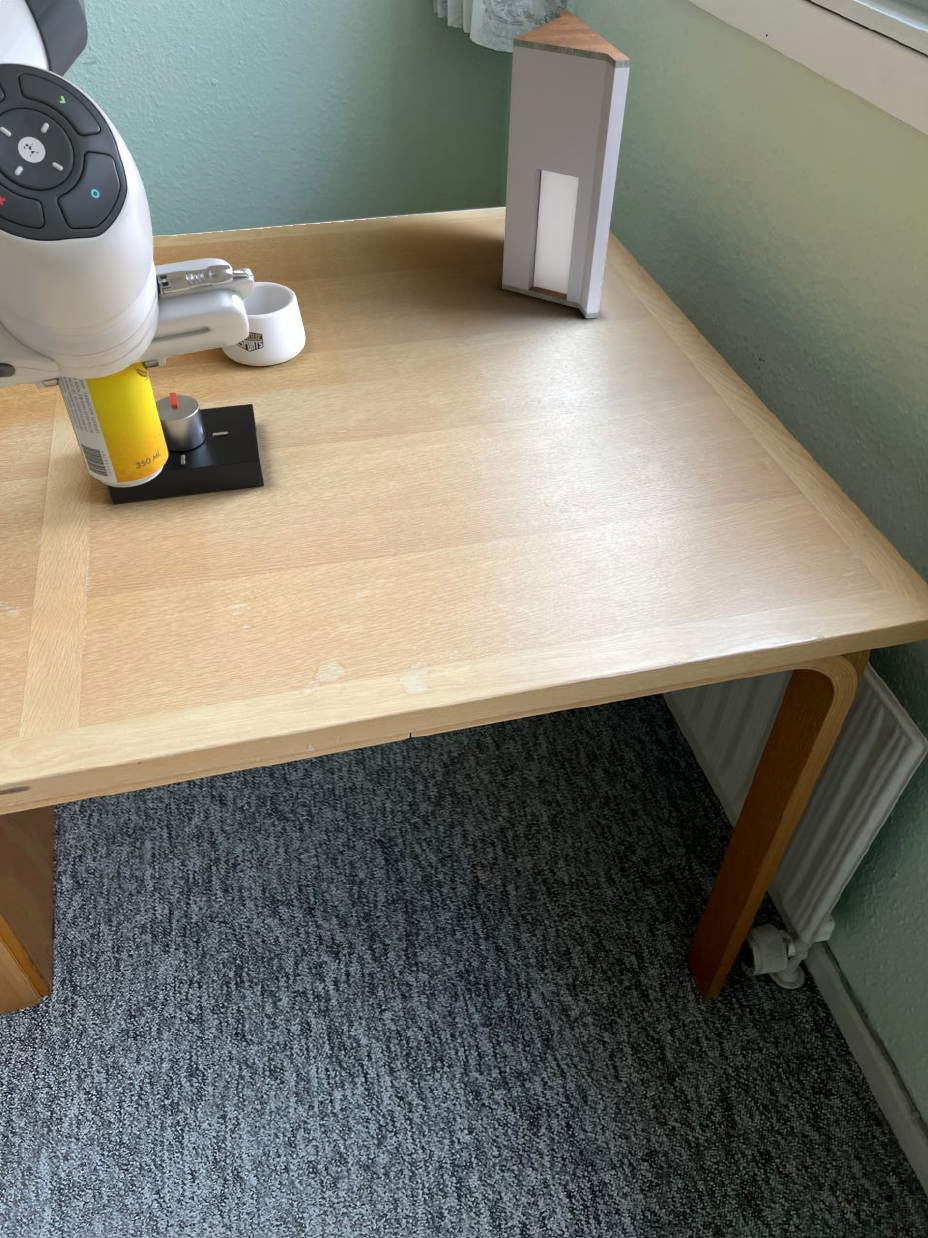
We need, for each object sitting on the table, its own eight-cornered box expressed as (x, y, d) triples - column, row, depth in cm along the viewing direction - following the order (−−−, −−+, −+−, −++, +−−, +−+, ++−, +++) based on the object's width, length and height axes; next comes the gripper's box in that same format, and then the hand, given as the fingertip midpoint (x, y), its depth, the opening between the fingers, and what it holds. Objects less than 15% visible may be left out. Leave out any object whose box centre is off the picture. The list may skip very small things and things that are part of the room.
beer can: (185, 453, 73) (140, 268, 62) (142, 498, 68) (86, 308, 58) (118, 438, 74) (63, 254, 63) (72, 481, 70) (5, 292, 59)
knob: (208, 447, 88) (200, 413, 85) (160, 455, 87) (151, 420, 84) (203, 422, 91) (195, 388, 88) (157, 429, 90) (148, 395, 87)
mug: (315, 330, 110) (310, 282, 106) (294, 372, 103) (288, 322, 99) (217, 322, 111) (208, 274, 107) (191, 363, 104) (180, 313, 100)
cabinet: (598, 317, 114) (630, 59, 94) (523, 324, 112) (540, 64, 92) (548, 246, 128) (567, 10, 108) (481, 252, 126) (488, 13, 106)
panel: (113, 504, 86) (104, 477, 84) (116, 444, 93) (108, 417, 91) (264, 485, 89) (259, 458, 86) (256, 428, 96) (252, 401, 93)
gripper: (241, 213, 55) (231, 298, 68) (-136, 268, 49) (-67, 349, 63) (271, 316, 55) (255, 380, 69) (-101, 383, 50) (-40, 439, 63)
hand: (99, 366), depth 66 cm, fingers closed on beer can, 6 cm apart
